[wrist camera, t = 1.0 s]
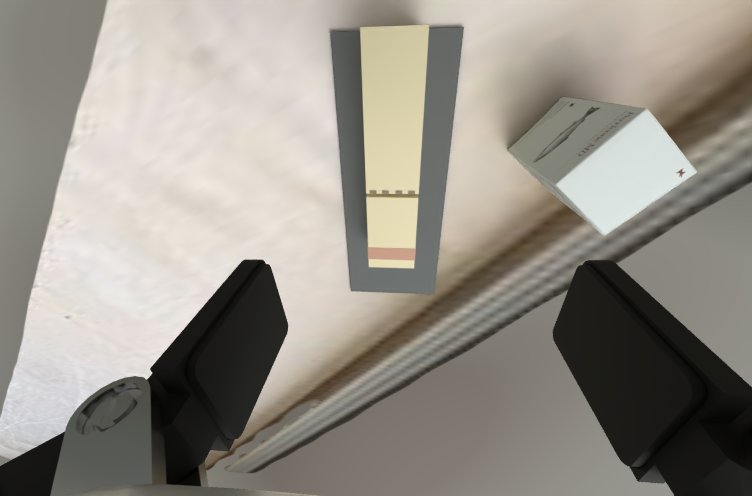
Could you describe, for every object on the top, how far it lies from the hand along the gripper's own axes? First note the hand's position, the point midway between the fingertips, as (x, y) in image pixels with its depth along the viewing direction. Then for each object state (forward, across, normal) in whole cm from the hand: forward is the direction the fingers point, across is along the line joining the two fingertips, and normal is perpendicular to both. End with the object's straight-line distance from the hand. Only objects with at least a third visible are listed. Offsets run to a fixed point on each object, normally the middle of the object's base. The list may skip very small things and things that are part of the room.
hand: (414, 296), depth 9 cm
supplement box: (+29, -16, +2) cm, 33 cm away
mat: (+28, +2, +7) cm, 29 cm away
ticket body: (+28, +1, -2) cm, 28 cm away
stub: (+27, +2, +10) cm, 29 cm away
